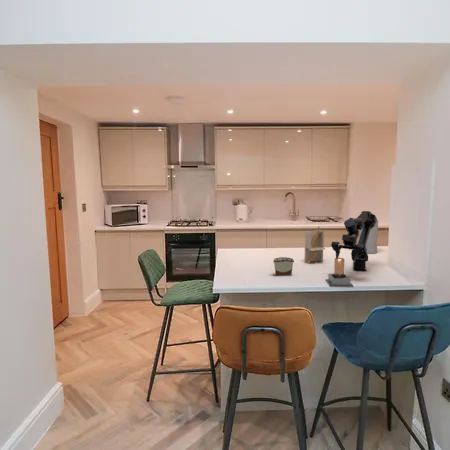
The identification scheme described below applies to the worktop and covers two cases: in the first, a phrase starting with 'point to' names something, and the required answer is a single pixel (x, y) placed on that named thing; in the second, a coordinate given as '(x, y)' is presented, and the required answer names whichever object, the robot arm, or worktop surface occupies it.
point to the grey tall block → (372, 239)
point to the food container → (283, 266)
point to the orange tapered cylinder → (339, 268)
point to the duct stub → (339, 281)
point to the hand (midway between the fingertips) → (344, 259)
